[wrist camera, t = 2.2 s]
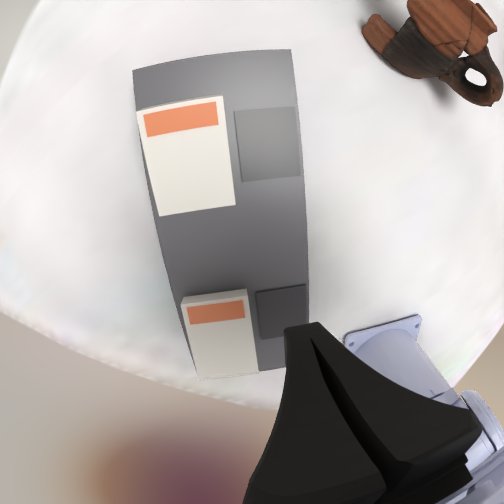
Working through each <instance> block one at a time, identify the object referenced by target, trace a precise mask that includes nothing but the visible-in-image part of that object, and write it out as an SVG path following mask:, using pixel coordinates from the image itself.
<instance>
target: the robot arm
mask: <svg viewBox="0 0 504 504" xmlns="http://www.w3.org/2000/svg"><path fill="white" fill-rule="evenodd" d="M421 322H422V317H421V316H420V315H417V316H413V317H410V318H407V319H403V320H400V321H396V322H393V323H389V324H385V325H382V326H378V327H374V328H370V329H366V330H362V331H358V332H354V333H350V334H348V335H347V336H346V338H345V345H343V344H341V343H340V342H339V341H338V340H337V339H336V338H335V337H334V336H333V335H332V334H331V333H330V332H328V331H327V330H326V329H325V328H324V327H323V326H322V325H321V324H320V323H319V322H314V323H309V324H303V325H298V326H292V327H286V328H285V329H284V330H283V331H284V349H285V365H286V375H285V382H284V389H283V394H282V398H281V403H280V407H279V410H278V414H277V417H276V420H275V424H274V427H273V430H272V432H271V435H270V437H269V440H268V443H267V445H266V447H265V450H264V452H263V454H262V457H261V459H260V461H259V463H258V465H257V466H256V469H255V470H254V472H253V474H252V476H251V478H250V480H249V484H248V487H247V490H246V494H245V497H244V500H243V504H504V430H503V428H502V427H501V425H500V423H499V421H498V420H497V418H496V417H495V415H494V414H493V412H492V411H491V409H490V408H489V407H488V405H487V404H486V403H485V401H484V400H483V399H482V398H481V396H480V395H479V394H478V393H477V392H476V391H475V390H469V391H468V390H464V391H463V392H462V393H461V394H460V395H461V397H462V398H463V400H464V401H465V403H466V405H467V406H466V405H465V403H464V402H463V401H462V399H461V398H460V397H459V395H458V394H457V392H456V391H455V390H454V388H453V387H452V388H451V387H450V386H449V384H448V383H447V381H446V380H445V379H444V377H443V376H442V375H441V373H440V372H439V371H438V369H437V368H436V367H435V365H434V364H433V363H432V362H431V360H430V359H429V358H428V356H427V355H426V354H425V352H424V351H423V350H422V349H421V347H420V346H419V345H418V344H417V342H416V340H417V336H418V333H419V329H420V326H421ZM351 342H352V343H351ZM349 343H350V344H349ZM467 407H468V408H469V409H468V408H467Z"/></svg>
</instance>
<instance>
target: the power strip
mask: <svg viewBox="0 0 504 504" xmlns="http://www.w3.org/2000/svg"><path fill="white" fill-rule="evenodd" d="M132 72H133V84H134V94H135V103H136V112H137V111H139V110H141V109H142V108H147V107H151V106H155V105H160V104H165V103H170V102H175V101H180V100H186V99H192V98H198V97H204V96H211V95H219V94H222V95H223V102H224V110H225V119H226V128H227V136H228V145H229V153H230V162H231V170H232V178H233V187H234V195H235V203H236V205H231V206H224V207H217V208H210V209H203V210H197V211H190V212H184V213H178V214H172V215H166V216H160V217H159V213H158V209H157V205H156V201H155V198H154V194H153V189H152V185H151V181H150V177H149V173H148V168H147V164H146V159H145V155H144V150H143V145H142V141H141V136H140V142H141V148H142V155H143V161H144V167H145V173H146V178H147V184H148V189H149V195H150V200H151V205H152V210H153V214H154V219H155V224H156V228H157V233H158V237H159V242H160V246H161V250H162V254H163V259H164V263H165V267H166V271H167V274H168V278H169V282H170V286H171V290H172V293H173V297H174V301H175V304H176V308H177V311H178V314H179V318H180V321H181V325H182V328H183V331H184V334H185V338H186V341H187V344H188V347H189V350H190V353H191V356H192V359H193V355H192V351H191V347H190V343H189V339H188V335H187V331H186V327H185V322H184V318H183V313H182V309H181V302H182V300H183V297H187V296H195V295H203V294H210V293H218V292H225V291H233V290H240V289H247V294H248V301H249V308H250V315H251V322H252V329H253V336H254V343H255V350H256V356H257V363H258V370H259V371H266V370H272V369H278V368H284V367H286V365H285V349H284V331H283V330H284V329H285V328H286V327H292V326H298V325H303V324H309V280H308V243H307V219H306V200H305V184H304V169H303V156H302V144H301V133H300V122H299V112H298V103H297V94H296V85H295V77H294V69H293V62H292V54H291V49H281V50H255V51H241V52H230V53H221V54H213V55H205V56H198V57H192V58H186V59H181V60H175V61H170V62H165V63H161V64H156V65H152V66H148V67H144V68H140V69H136V70H132ZM138 127H139V126H138ZM139 135H140V131H139ZM193 362H194V359H193ZM194 365H195V363H194ZM195 368H196V367H195ZM196 371H197V370H196Z"/></svg>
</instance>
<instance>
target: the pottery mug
mask: <svg viewBox="0 0 504 504" xmlns="http://www.w3.org/2000/svg"><path fill="white" fill-rule="evenodd" d="M407 9H408V11H409V14H410V16H411V17H409V18H408V19H407V20H406V22H405V24H404V25H403V27H402V28H401V29H400V31H399V32H396V31H395V30H394V29H393V28H391V27H390V26H389V25H388V24H387V23H386V22H385V21H384V20H383V19H382V18H381V16H380V15H378V14H373V15H372V16H371V17H370V18H369V20H368V22H367V24H366V25H365V26H364V28H363V29H362V34H363V35H364V36H365V38H366V40H367V41H368V42H369V43H370V44H371V45H372V47H374V48H375V49H376V50H377V51H378V52H379V53H380V54H381V55H382V56H383V57H384V58H385V59H386V60H387V61H388V62H390V63H391V65H392V66H393V67H395V68H397V69H398V70H399V71H400V72H402V73H404V74H405V75H407V76H410V77H412V78H416V79H421V78H427V77H434V76H436V77H439V78H438V79H439V80H441V81H444V82H446V83H447V84H448V85H449V86H450V87H451V88H452V89H453V90H454V91H455V92H457V93H458V94H459V95H460V96H462V97H463V98H464V99H466V100H467V101H469V102H471V103H473V104H476V105H479V106H489V107H491V106H492V104H493V103H494V102H495V101H499V100H500V98H501V96H502V93H503V79H502V76H501V74H500V72H499V70H498V68H497V66H496V65H495V63H494V62H493V60H492V58H491V56H490V53H489V49H488V47H487V43H488V36H489V35H490V34H492V33H494V32H497V27H496V25H495V24H494V22H493V21H492V19H491V18H490V16H489V15H488V14H487V13H486V12H485V10H484V9H483V8H482V6H481V5H480V4H479V3H476V4H474V3H473V2H472V1H471V0H408V1H407ZM463 50H464V51H465V52H466V53H467V54H468V55H469V56H467V57H460V58H458V57H459V56H461V54H462V52H463ZM469 68H472V69H474V70H476V71H478V72H480V73H482V74H483V75H484V76H485V78H486V80H487V82H486V85H485V86H478V85H475V84H473V83H471V82H469V81H468V80H467V79H466V77H465V73H466V71H467V70H468V69H469Z"/></svg>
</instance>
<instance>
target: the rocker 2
mask: <svg viewBox="0 0 504 504" xmlns="http://www.w3.org/2000/svg"><path fill="white" fill-rule="evenodd" d="M181 309H182V313H183V318H184V322H185V327H186V331H187V335H188V339H189V343H190V347H191V351H192V355H193V359H194V363H195V367H196V370H197V374H198V378H199V380H206V379H216V378H225V377H233V376H241V375H248V374H255V373H259V370H258V363H257V356H256V350H255V343H254V336H253V329H252V322H251V315H250V308H249V301H248V294H247V289H240V290H233V291H225V292H218V293H210V294H203V295H195V296H187V297H183V300H182V302H181Z"/></svg>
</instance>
